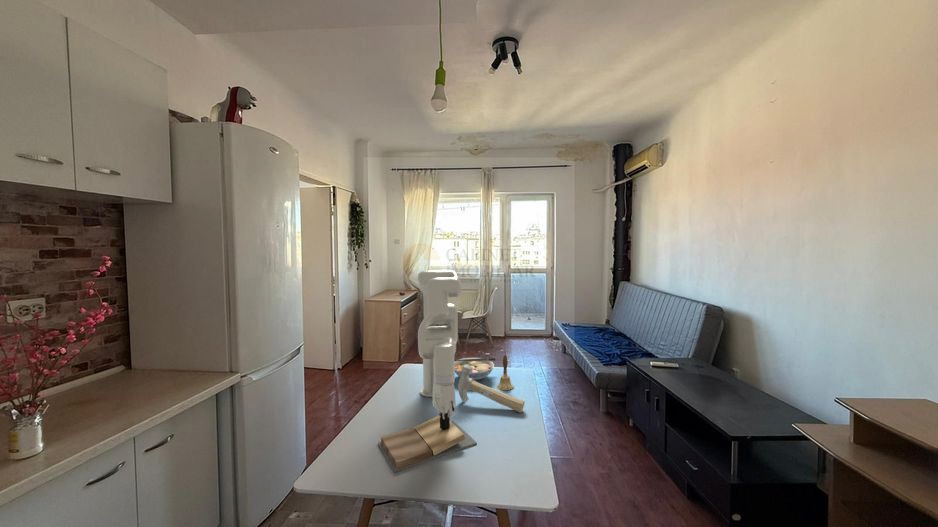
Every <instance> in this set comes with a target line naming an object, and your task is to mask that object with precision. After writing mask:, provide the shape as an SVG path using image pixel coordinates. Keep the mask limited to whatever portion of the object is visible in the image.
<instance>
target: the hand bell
mask: <svg viewBox="0 0 938 527" xmlns="http://www.w3.org/2000/svg"><path fill="white" fill-rule="evenodd" d="M508 362H509V360H508V356H507V355H506V354H503V357H502V366H503V373H502V375H500V379H499V383H498V384H497V385H496V389H497V390H500V389H501V390H500V391H511V390H513V389H514V388H515V386H514V385H513V384H512V382H511V378H510V376H509V375H508V370H507V368H508ZM512 388H513V389H512ZM510 389H511V390H510Z"/></svg>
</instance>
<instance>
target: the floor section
mask: <svg viewBox="0 0 938 527" xmlns="http://www.w3.org/2000/svg"><path fill="white" fill-rule="evenodd" d="M450 421H451V422H452V423H453V424H454V425H455V426H456V427H457V428H458V429H459V430H460V431H461V432H462V433H463V434H464V437H465V440H463V441H461V442H459V443H457V444H455V445H453V446H452V447H450V448H448V449H446V450H444V451H442V452H440V453H438V454H436V455H435V456H434V455H433V454H432V450H431V449H430V448H429V447H428V445H427V444H426V443H425V442H424V440H423V439H422V438H421V437H420V436H419V434H418V433H417V432H416V431H415V429H414V427H411V428H408V429H403V430H400V431H397V432H394V433H389V434H386V435H383V436H381V437H380V439H381V440H380V441H378V442H377V445H378V444H379V445H378V446H380V447H379V448H380V450H381V452H382V451H383V452H382V454H383V453H384V454H383V456H384V457H385V459H386V461H387V462H388V464H389V466H390V468H391V469H392V471H393V473H397V472H400V471H402V470H406V469H409V468H411V467H414V466H417V465H420V464H423V463H426V462H429V461H433V460H435V459H438V458H440V457H444V456H446V455H450V454H452V453H456V452H458V451H461V450H462V451H463V450H465V449H466V448H467V449H468V448H470V447H473V446H476V445H477V444H478V442H477V441H476V440H474V438H473V437H472V436H470V435H469V434H468V433H467V432H466V431H465V430H464V429H463V428H462V427H461V426H459V424H458V423H456V422H455V421H454V420H450Z"/></svg>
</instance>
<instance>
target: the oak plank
mask: <svg viewBox="0 0 938 527" xmlns="http://www.w3.org/2000/svg"><path fill="white" fill-rule="evenodd" d="M451 421H452V420H450V428H448V429H445V430H442V429H441V428H440V416H439V415H437V416H435V417H433V418H430V419H429V420H427V421H424V422H422V423H420V424H418V425H416V426H414V427H413V428H414V429H415V431H416V432H417V433H418V434H419V436H420V437H421V438H422V439H423V440H424V442H425V443H426V444H427V445H428V447H429V448H430V449H431V450H432V454H433V455H434V456H435V455H436V454H438V453H440V452H442V451H444V450H446V449H448V448H450V447H452V446H453V445H455V444H457V443H459V442H461V441H463V440H465V437H464V434H463V433H462V432H461V431H460V430H459V429H458V428H457V427H456V426H455V425H454V424H453V423H452V422H451Z"/></svg>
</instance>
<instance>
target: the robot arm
mask: <svg viewBox="0 0 938 527" xmlns="http://www.w3.org/2000/svg"><path fill="white" fill-rule="evenodd" d="M417 282H418V285H419V287H420V289H421V292H422V296H423V319H422V320H421V322H420V325H419V327H418V329H417V348H418V349H417V350H418V354H419V356H420V358H422V371H423V372H422V375H423V376H422V382H423V384H422V385H423V386H422V387H421V388H420V391H419V393H420V395H421V396H423V397H425V398H426V397H427V398H432V405H433V407H434V408H435V409H436V410H437V411H438V416H440V428H441V429H442V430H445V429H448V428H450V421H451V418H452V417H454V412H455V411H456V407H457V406H456V405H457V404H456V402H457V401H456V389H455V384H454V383H455V375H456V373H455V371H454V360H455V354H456V351H457V343H458V339H459V338H458V337H459V335H458V334H459V332H458V331H459V328H458V325H459V321H458V320H459V319H458V317H459V315H458V309H457V306H456V305H455V304H454V303H449V300H448V299H449V298H458V297H459V296H460V295H461V292H462V285H461V281H460V277H459V275H458V273H457V272H456V271H455V270H452V269H441V270H440V269H431V270H429V269H428V270H422V271H420V272H418V275H417ZM431 325H433V326H431ZM436 325H437V326H436Z"/></svg>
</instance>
